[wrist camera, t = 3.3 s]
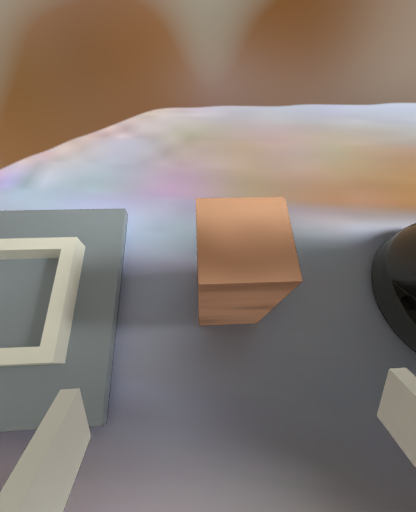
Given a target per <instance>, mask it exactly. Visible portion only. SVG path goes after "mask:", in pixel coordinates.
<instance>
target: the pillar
mask: <svg viewBox="0 0 416 512" xmlns="http://www.w3.org/2000/svg"><path fill="white" fill-rule="evenodd" d="M196 225H197V274H198V309H199V326H202V325H228V324H253V323H258V322H259V321H260V320H261V319H262V318H263V317H264V316H265V315H266V314H268V313H269V312H270V311H271V310H272V309H273V308H274V307H275V306H276V305H277V304H278V303H279V302H281V301H282V300H283V299H284V298H285V297H286V296H287V295H288V294H289V293H290V292H291V291H292V290H294V289H295V288H296V287H297V286H298V285H299V284H300V283H301V282H302V281H303V280H302V276H301V271H300V266H299V261H298V257H297V252H296V247H295V242H294V237H293V233H292V228H291V223H290V218H289V214H288V209H287V204H286V199H285V197H249V198H196Z"/></svg>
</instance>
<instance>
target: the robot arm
mask: <svg viewBox="0 0 416 512" xmlns="http://www.w3.org/2000/svg"><path fill="white" fill-rule="evenodd" d="M372 285H373V290H374V294H375V297H376V300H377V303H378V305H379V307H380V309H381V311H382V313H383V315H384V317H385V318H386V320H387V321H388V323H389V324H390V326H391V327H392V328H393V330H394V331H395V332H396V333H397V335H398V336H399V337H400V338H401V339H402V340H403V341H404V342H405V343H406V344H407V345H408V346H409V347H411V348H412V349H413V350H414V351H415V352H416V223H415V224H412V225H410V226H408V227H406V228H404V229H403V230H401V231H400V232H398V233H397V234H395V235H394V236H393V237H391V238H390V239H388V240H387V241H386V242H385V243H384V244H383V245H382V246H381V247H380V249H379V250H378V252H377V254H376V256H375V258H374V261H373V266H372ZM377 417H378V418H379V420H380V421H381V422H382V424H383V425H384V426H385V428H386V429H387V430H388V432H389V433H390V434H391V436H392V437H393V438H394V440H395V441H396V442H397V444H398V445H399V446H400V448H401V449H402V450H403V452H404V453H405V454H406V456H407V457H408V458H409V460H410V461H411V463H412V464H413V465H414V467H415V468H416V376H414V375H413V374H412V373H411V372H410V371H409V370H408V369H407V368H391V369H389V371H388V375H387V378H386V382H385V386H384V390H383V393H382V397H381V401H380V405H379V408H378V412H377ZM90 438H91V434H90V430H89V425H88V421H87V417H86V413H85V409H84V404H83V400H82V396H81V392H80V388H77V389H61V390H60V391H59V393H58V394H57V396H56V398H55V400H54V401H53V403H52V405H51V406H50V408H49V410H48V412H47V413H46V415H45V417H44V418H43V420H42V422H41V423H40V425H39V427H38V429H37V430H36V432H35V434H34V435H33V437H32V439H31V441H30V442H29V444H28V446H27V447H26V449H25V451H24V452H23V454H22V456H21V458H20V459H19V461H18V463H17V464H16V466H15V468H14V469H13V471H12V473H11V475H10V476H9V478H8V480H7V481H6V483H5V485H4V487H3V488H2V490H1V492H0V512H63V511H64V508H65V506H66V503H67V500H68V497H69V495H70V492H71V489H72V487H73V484H74V481H75V479H76V476H77V473H78V470H79V468H80V465H81V462H82V460H83V457H84V454H85V452H86V449H87V446H88V444H89V441H90Z"/></svg>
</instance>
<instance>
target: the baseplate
mask: <svg viewBox="0 0 416 512" xmlns="http://www.w3.org/2000/svg"><path fill="white" fill-rule="evenodd" d="M127 220H128V214H127V212H126V209H79V210H25V211H0V432H4V431H22V430H37V429H38V427H39V425H40V423H41V422H42V420H43V418H44V417H45V415H46V413H47V412H48V410H49V408H50V406H51V405H52V403H53V401H54V400H55V398H56V396H57V394H58V393H59V391H60V390H61V389H77V388H80V392H81V396H82V400H83V404H84V409H85V413H86V417H87V421H88V425H89V427H93V426H102V425H104V424H106V422H107V412H108V403H109V393H110V383H111V374H112V364H113V354H114V345H115V335H116V326H117V316H118V306H119V297H120V287H121V277H122V268H123V258H124V249H125V239H126V229H127Z"/></svg>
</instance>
